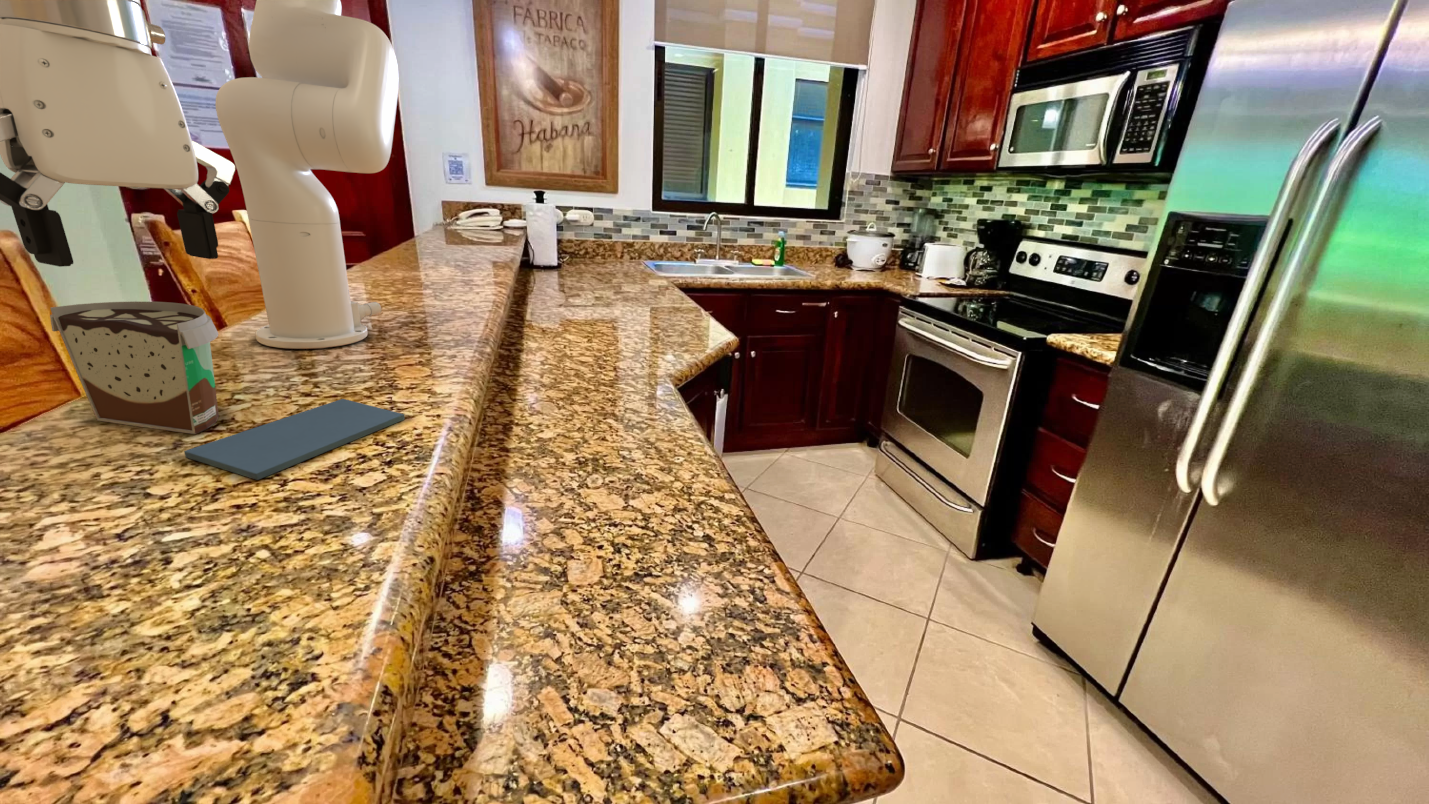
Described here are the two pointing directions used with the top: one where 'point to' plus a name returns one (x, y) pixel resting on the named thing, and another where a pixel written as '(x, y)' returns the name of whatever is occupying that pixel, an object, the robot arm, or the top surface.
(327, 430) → the pad
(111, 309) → the food container
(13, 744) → the top surface
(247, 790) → the top surface
